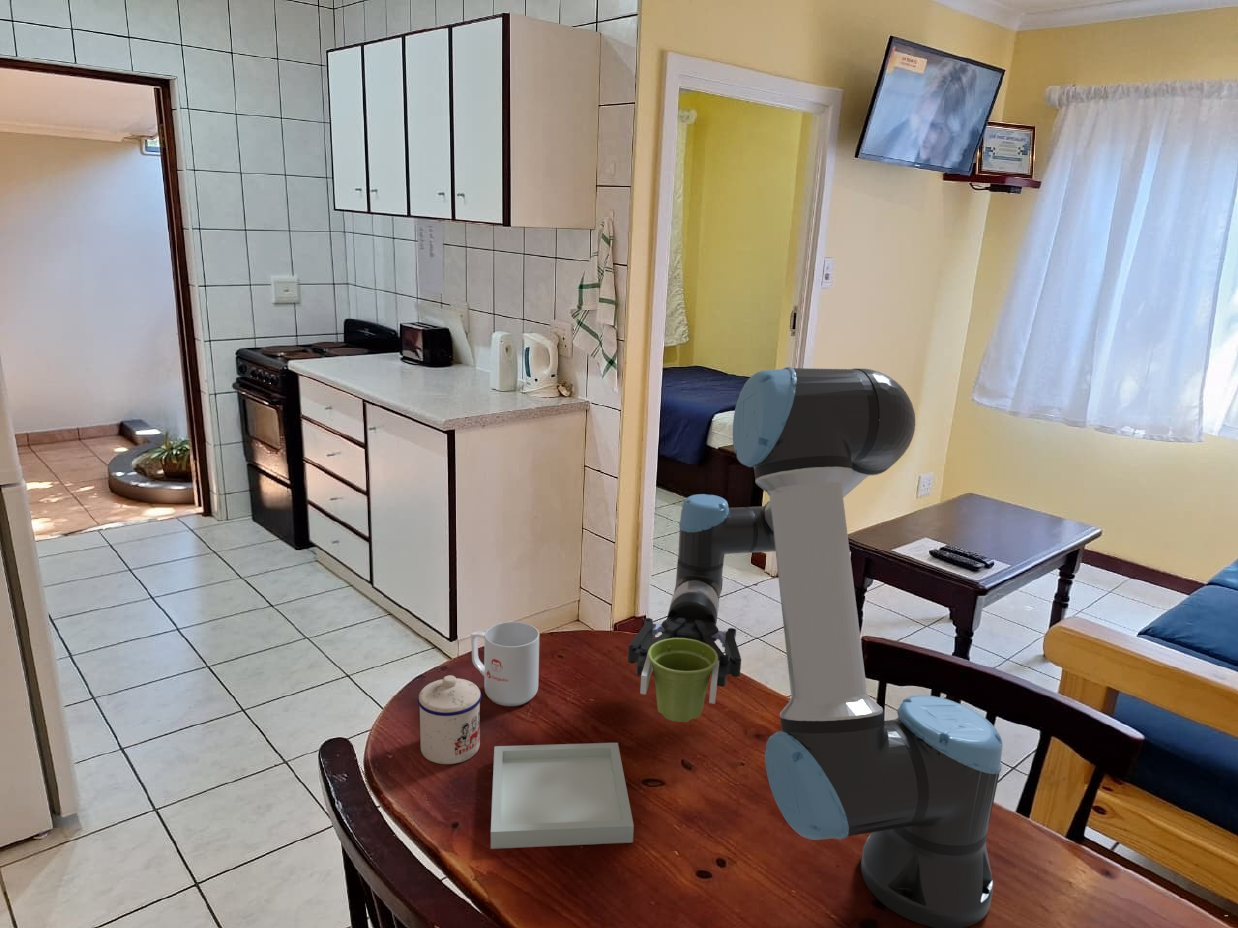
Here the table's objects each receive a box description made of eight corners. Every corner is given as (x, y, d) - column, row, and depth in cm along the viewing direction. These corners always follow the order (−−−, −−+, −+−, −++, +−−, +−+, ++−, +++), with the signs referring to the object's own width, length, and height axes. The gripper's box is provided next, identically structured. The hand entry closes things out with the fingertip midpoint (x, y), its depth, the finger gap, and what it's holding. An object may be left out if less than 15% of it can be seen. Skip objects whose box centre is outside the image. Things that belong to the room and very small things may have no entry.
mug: (547, 688, 144) (549, 628, 141) (521, 714, 136) (521, 651, 133) (487, 671, 148) (487, 613, 145) (457, 695, 140) (457, 634, 137)
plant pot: (639, 724, 113) (642, 666, 110) (651, 688, 122) (654, 633, 119) (709, 735, 111) (714, 676, 109) (716, 697, 120) (720, 642, 118)
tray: (632, 842, 109) (633, 825, 108) (490, 848, 107) (490, 831, 106) (617, 757, 126) (617, 742, 125) (494, 761, 124) (494, 746, 123)
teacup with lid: (464, 772, 121) (463, 699, 118) (407, 758, 123) (405, 687, 120) (499, 727, 132) (499, 659, 129) (446, 715, 135) (445, 649, 131)
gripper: (759, 643, 131) (757, 725, 110) (624, 627, 134) (597, 704, 113) (764, 599, 129) (762, 674, 108) (627, 584, 132) (599, 653, 111)
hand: (678, 689), depth 110 cm, fingers closed on plant pot, 8 cm apart
